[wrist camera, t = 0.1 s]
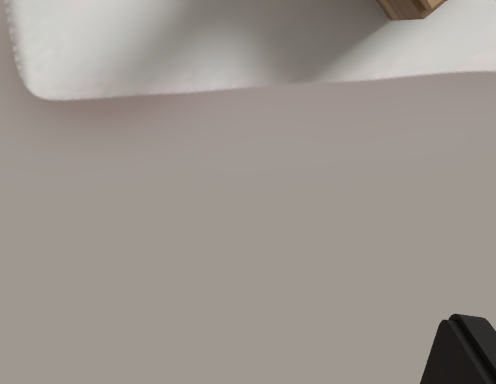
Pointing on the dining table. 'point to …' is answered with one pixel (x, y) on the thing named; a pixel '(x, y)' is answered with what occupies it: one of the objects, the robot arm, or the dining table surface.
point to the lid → (430, 3)
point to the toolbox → (406, 9)
